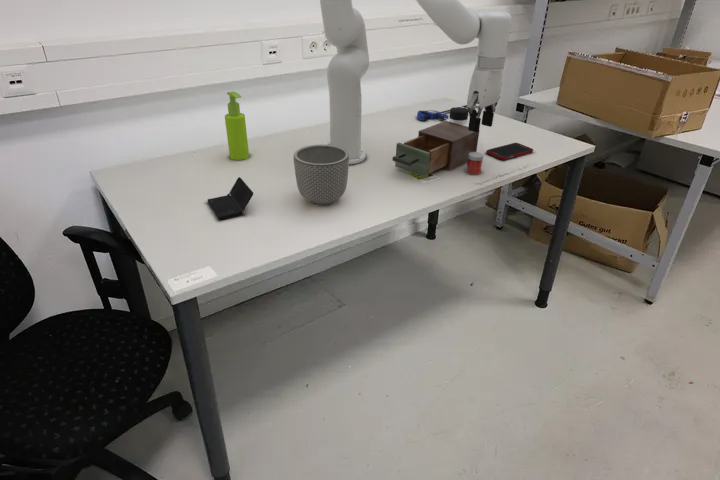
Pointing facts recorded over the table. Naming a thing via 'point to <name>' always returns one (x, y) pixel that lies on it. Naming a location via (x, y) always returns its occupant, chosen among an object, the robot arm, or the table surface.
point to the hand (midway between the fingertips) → (480, 127)
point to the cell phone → (509, 151)
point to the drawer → (422, 155)
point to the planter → (321, 173)
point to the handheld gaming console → (232, 201)
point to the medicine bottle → (459, 116)
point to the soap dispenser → (236, 129)
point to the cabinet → (454, 141)
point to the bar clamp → (432, 114)
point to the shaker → (474, 163)
